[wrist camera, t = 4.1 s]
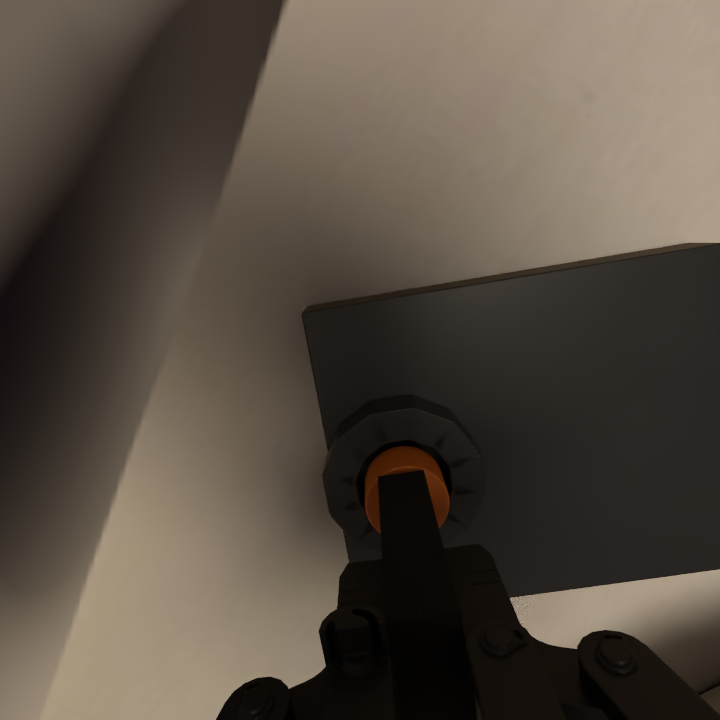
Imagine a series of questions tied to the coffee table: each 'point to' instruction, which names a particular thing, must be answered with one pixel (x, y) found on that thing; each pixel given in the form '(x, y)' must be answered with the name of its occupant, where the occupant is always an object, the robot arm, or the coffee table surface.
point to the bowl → (713, 698)
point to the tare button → (402, 462)
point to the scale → (539, 413)
